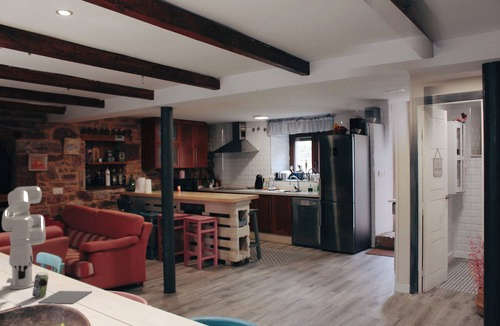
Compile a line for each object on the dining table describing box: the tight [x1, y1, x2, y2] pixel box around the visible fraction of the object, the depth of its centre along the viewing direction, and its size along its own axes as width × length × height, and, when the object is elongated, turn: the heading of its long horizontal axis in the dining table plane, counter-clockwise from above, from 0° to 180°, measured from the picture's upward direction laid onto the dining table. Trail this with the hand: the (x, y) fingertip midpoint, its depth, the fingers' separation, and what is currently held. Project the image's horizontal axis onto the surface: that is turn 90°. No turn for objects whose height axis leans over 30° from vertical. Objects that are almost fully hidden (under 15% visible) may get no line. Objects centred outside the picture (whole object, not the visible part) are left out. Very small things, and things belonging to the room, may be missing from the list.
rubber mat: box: [37, 290, 93, 305], centre depth 206 cm, size 18×18×1 cm
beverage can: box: [31, 271, 49, 299], centre depth 208 cm, size 6×7×12 cm
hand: (21, 278), depth 209 cm, fingers closed
